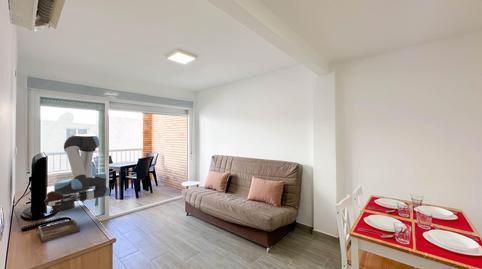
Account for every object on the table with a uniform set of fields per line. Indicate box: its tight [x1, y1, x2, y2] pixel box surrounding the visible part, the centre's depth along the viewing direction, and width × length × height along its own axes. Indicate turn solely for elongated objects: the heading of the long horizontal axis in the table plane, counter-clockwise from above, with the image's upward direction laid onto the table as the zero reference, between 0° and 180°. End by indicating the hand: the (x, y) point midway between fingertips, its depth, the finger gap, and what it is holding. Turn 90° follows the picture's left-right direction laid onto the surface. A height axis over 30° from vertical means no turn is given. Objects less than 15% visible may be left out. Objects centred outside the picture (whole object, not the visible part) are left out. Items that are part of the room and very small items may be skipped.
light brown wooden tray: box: [38, 219, 81, 243], centre depth 135 cm, size 18×18×3 cm
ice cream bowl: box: [44, 190, 65, 215], centre depth 147 cm, size 11×11×15 cm
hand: (47, 202), depth 144 cm, fingers closed on ice cream bowl, 11 cm apart
